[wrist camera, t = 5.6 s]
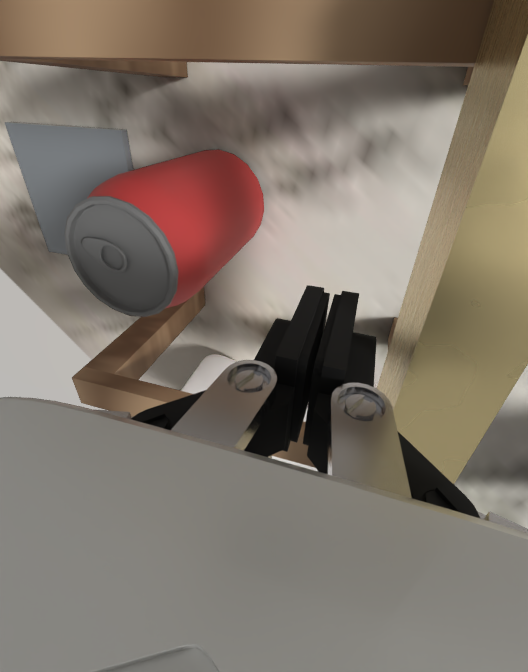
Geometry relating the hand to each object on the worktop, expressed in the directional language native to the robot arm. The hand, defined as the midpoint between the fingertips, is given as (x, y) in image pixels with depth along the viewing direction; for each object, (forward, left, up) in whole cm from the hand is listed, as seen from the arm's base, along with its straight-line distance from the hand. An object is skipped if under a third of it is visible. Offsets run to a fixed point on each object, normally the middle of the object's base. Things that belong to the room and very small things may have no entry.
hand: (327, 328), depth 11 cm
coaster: (+22, +1, -14) cm, 26 cm away
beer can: (+10, 0, -14) cm, 17 cm away
